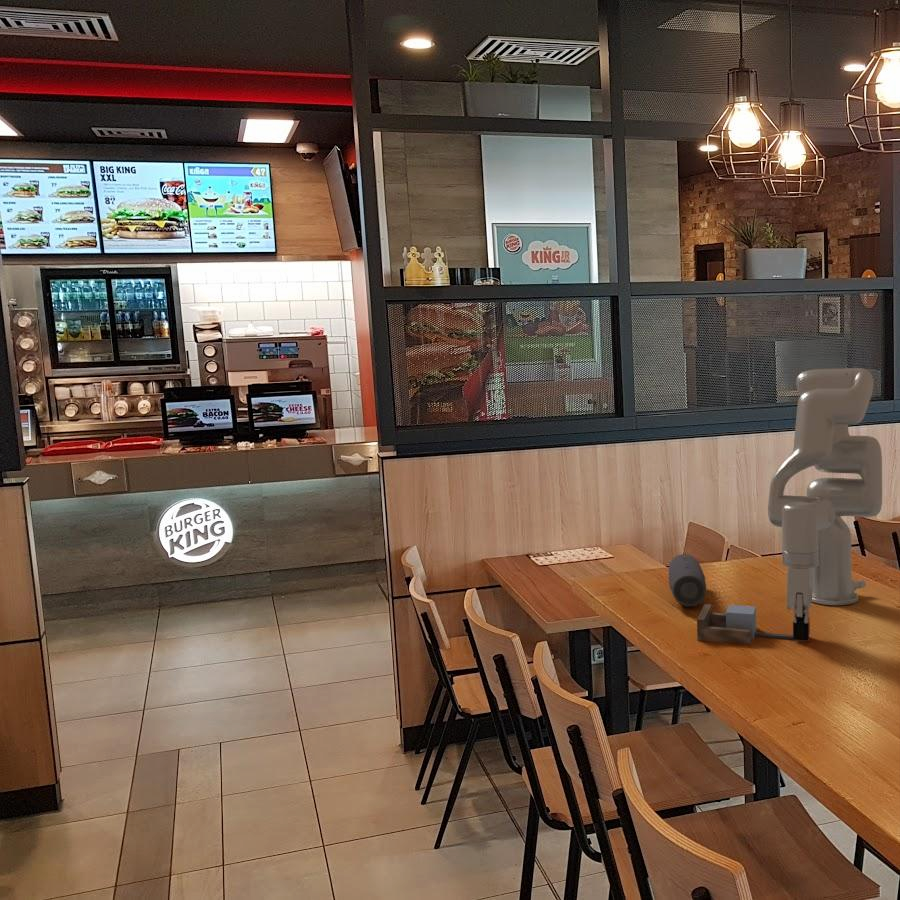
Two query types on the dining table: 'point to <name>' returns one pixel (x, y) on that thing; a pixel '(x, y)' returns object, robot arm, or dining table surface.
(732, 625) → the block
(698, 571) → the bluetooth speaker
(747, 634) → the dark u-shaped frame
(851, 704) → the dining table surface
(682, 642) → the dining table surface
